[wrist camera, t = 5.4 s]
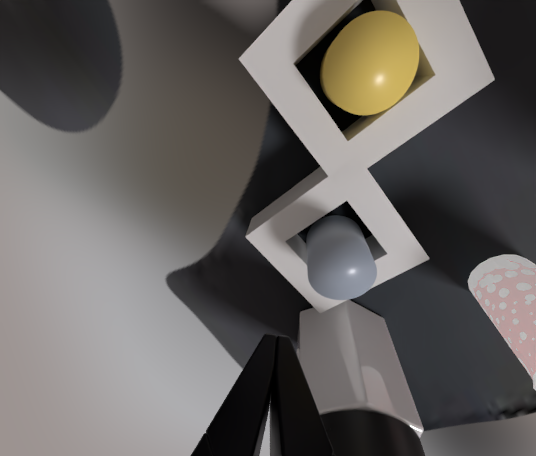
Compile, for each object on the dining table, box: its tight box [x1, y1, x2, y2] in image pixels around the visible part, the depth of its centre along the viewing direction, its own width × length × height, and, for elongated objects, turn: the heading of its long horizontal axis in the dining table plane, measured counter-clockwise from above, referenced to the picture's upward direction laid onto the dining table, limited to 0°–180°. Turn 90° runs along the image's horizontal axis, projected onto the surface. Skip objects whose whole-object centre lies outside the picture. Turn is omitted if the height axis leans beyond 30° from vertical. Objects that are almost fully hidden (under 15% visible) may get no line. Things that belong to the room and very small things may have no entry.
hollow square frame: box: [239, 0, 495, 185], centre depth 15 cm, size 9×9×3 cm
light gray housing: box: [245, 156, 430, 313], centre depth 20 cm, size 9×9×3 cm
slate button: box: [306, 215, 377, 300], centre depth 18 cm, size 4×4×4 cm
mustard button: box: [320, 10, 419, 115], centre depth 14 cm, size 4×4×4 cm
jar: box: [297, 299, 425, 456], centre depth 21 cm, size 9×8×12 cm
